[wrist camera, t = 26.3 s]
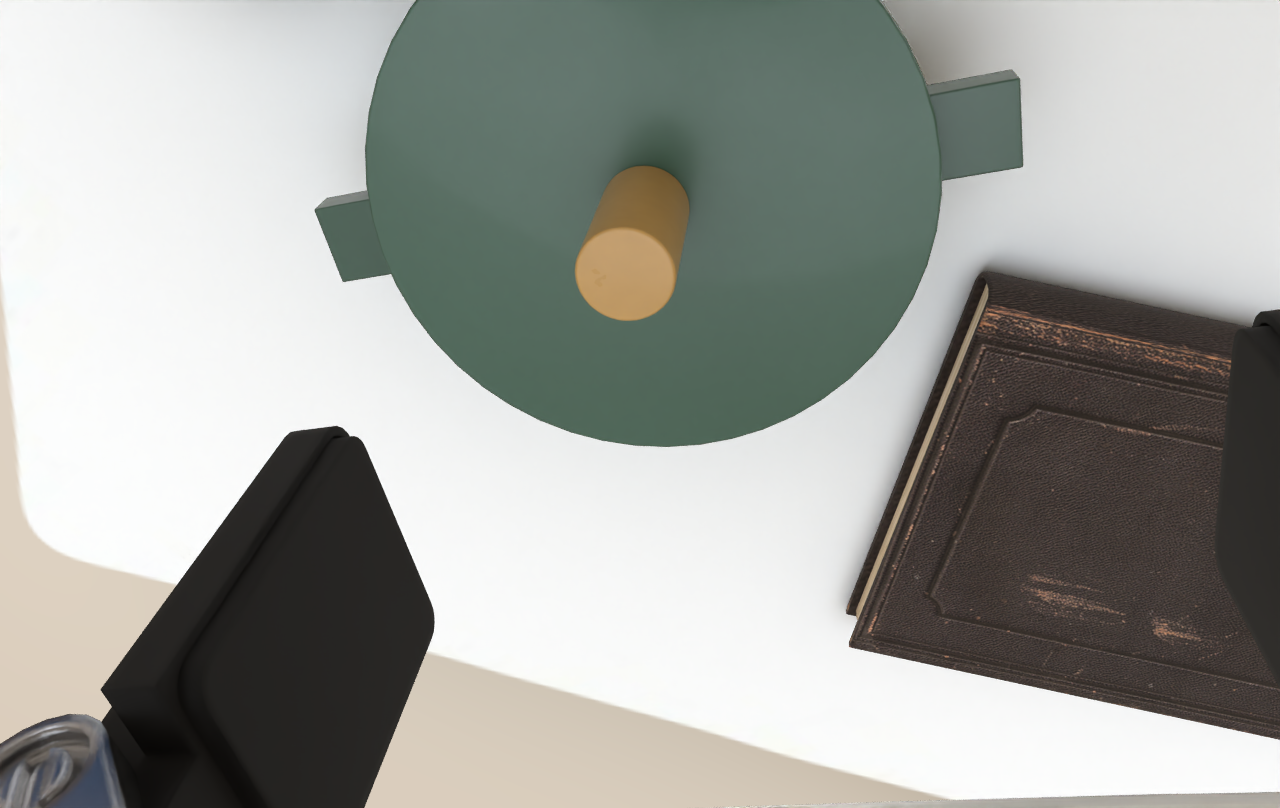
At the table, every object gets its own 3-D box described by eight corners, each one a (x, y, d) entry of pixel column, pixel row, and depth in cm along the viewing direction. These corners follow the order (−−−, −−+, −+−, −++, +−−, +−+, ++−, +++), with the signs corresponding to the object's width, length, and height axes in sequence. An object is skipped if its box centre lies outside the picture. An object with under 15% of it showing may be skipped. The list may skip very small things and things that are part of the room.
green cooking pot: (304, -35, 32) (216, -1, 27) (973, -197, 28) (1017, -191, 23) (448, 371, 39) (401, 458, 34) (998, 290, 35) (1035, 376, 30)
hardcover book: (1385, 724, 43) (1414, 769, 41) (845, 608, 43) (849, 648, 41) (1653, 406, 34) (1707, 444, 32) (981, 262, 34) (994, 291, 32)
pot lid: (294, -40, 27) (188, 0, 22) (909, -189, 23) (944, -182, 19) (472, 454, 34) (422, 565, 29) (955, 392, 31) (988, 505, 26)
